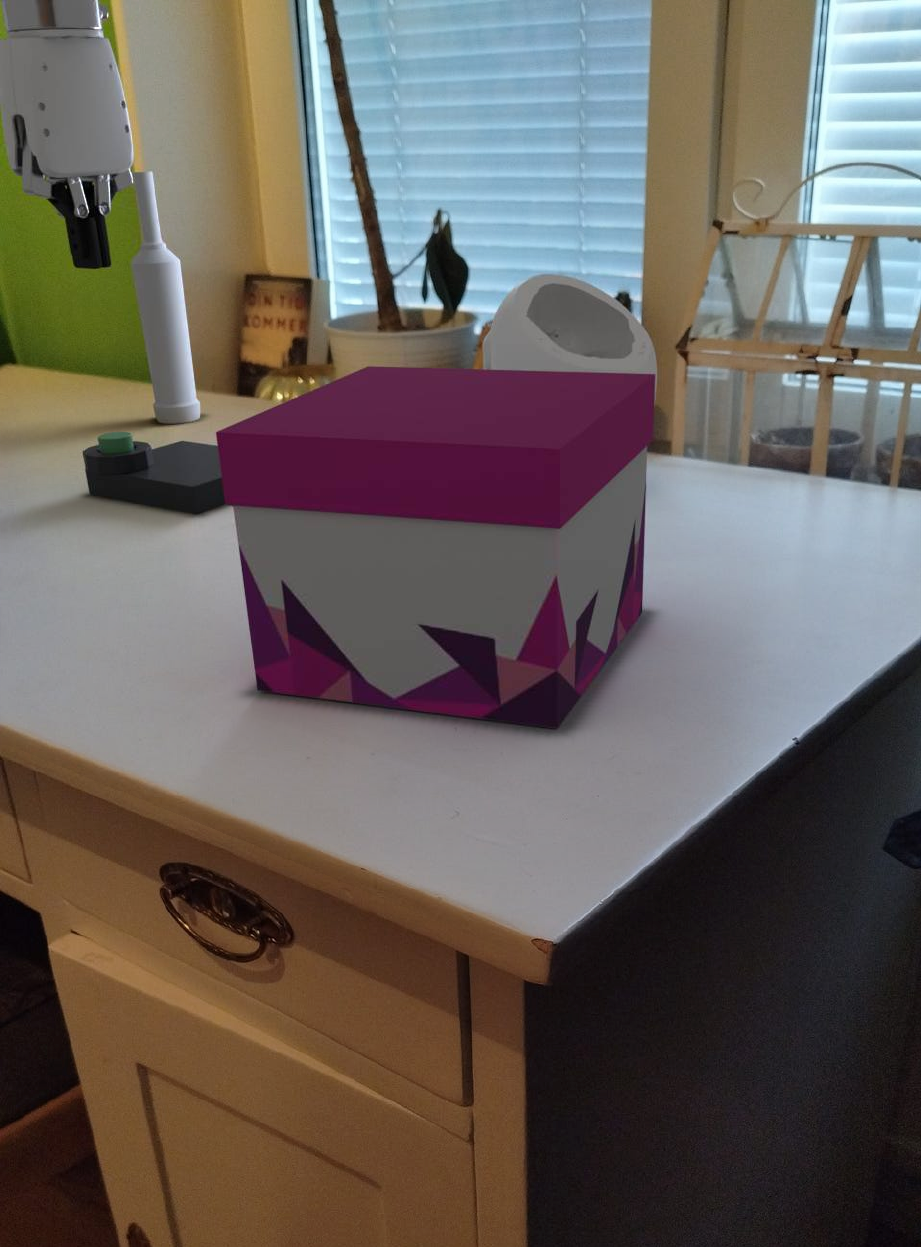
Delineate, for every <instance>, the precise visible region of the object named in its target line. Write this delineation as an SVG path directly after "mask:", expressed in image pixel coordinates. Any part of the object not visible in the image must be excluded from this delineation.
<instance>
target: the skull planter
mask: <svg viewBox="0 0 921 1247" xmlns="http://www.w3.org/2000/svg"><path fill="white" fill-rule="evenodd" d="M556 335H557V337H556ZM569 343H571V344H569ZM568 344H569V345H568ZM481 350H482V366H483V368H482V369H485V370H522V371H558V372H595V373H632V374H655V400H654V406H655V405H656V397H657V388H658V362H657V355H656V350H655V346H654V344H653V341H652V339H651V336H650V334H649V333H648V331H647V330H646V329H645V328H644V326H643V325H642V323H641V322H640V321H639V320H638V319H637V318H636V317H635V315H634V314H633V313H631V312H630V310H629V309H628V308H627V307H626V306H625V305H623V303H621V302H620V301H619V300H618V299H616V298H614V297H613V296H611V295H610V294H608V293H607V292H605V291H603V290H601V289H600V288H599V287H596V286H594V285H593V284H592V283H591V284H590V283H588V282H586V281H583V280H581V279H579V278H575V277H572V276H566V275H561V274H555V273H554V274H553V273H541V274H537V275H533V276H531V277H529V278H527V279H525V280H523V281H522V282H520V283H519V284H517V285H516V286H514V287H513V288H512V289H511V290H510V291H509V292H508V293H507V295H506V296H505V297H504V298H503V300H502V301H501V303H500V305H499V306H498V307H497V310H496V311H495V313H494V316H493V319H492V322H491V327H490V328H489V332H488V333H487V334H486V335H485V337H484V339H483V341H482V347H481Z"/></svg>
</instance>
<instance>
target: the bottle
mask: <svg viewBox="0 0 921 1247" xmlns="http://www.w3.org/2000/svg"><path fill="white" fill-rule="evenodd" d="M131 175H132V178H133V187H134V193H135V196H136V204H137V209H138V210H137V211H138V216H139V218H138V219H139V223H140V229H141V231H140V232H141V237H142V238H141V239H142V242H141V244H139V247H140V250H139V251H138V252H137V253H136V255H135V256H134V257H133V259H132V260H131V262H130V266H131V271H132V277H133V283H134V290H135V294H136V295H135V296H136V300H137V301H136V302H137V306H138V311H139V317H140V318H139V319H140V323H141V328H142V335H143V340H144V345H145V352H146V357H147V364H148V368H149V374H150V379H151V386H152V391H153V392H152V393H153V397H154V402H153V404H152V406H153V412H154V416H155V418H156V420H157V422H158V423H161V424H169V425H171V424H185V423H189V422H194V421H198V420H199V419H200V417H201V403H200V400H199V399H198V398H197V391H196V382H195V375H194V374H195V373H194V365H193V358H192V350H191V349H192V348H191V340H190V333H189V323H188V317H187V307H186V300H185V292H184V282H183V274H182V265H181V259H180V258H178V257H177V256H176V255H175V254H174V253H173V252H172V251H171V250H170V249H168V247H167V243H166V242H164V241H163V239H162V233H161V226H160V221H159V220H160V219H159V213H158V205H157V198H156V189H155V188H156V187H155V181H154V173H153V171H148V170H147V171H132V172H131Z"/></svg>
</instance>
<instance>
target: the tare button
mask: <svg viewBox="0 0 921 1247" xmlns="http://www.w3.org/2000/svg"><path fill="white" fill-rule="evenodd" d="M133 441H134V440H133V435H132V433H131V432H129V431H111V432H106V433H102V434H99V435H98V436H97V443H98V445H99V449H100V453H103V454H112V453H122V452H128V451H131V450H134V445H133Z"/></svg>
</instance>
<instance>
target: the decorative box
mask: <svg viewBox="0 0 921 1247" xmlns="http://www.w3.org/2000/svg"><path fill="white" fill-rule="evenodd" d="M654 400H655V401H656V398H655V374H632V373H595V372H558V371H522V370H485V369H483V368H482V369H480V368H479V369H477V368H443V367H440V368H439V367H409V366H408V367H407V366H406V367H405V366H371V365H369V366H365V367H362V368H361V369H359V370H356V371H354V372H351V373H349V374H346V375H344V376H342V377H340V378H338V379H335V380H332V381H331V382H329V383H326V384H324V385H321V386H319V387H317V388H314V389H313V390H310V391H307V392H305V393H303V394H301V395H297V396H296V397H294V398H291V399H289V400H287V401H285V402H282V403H280V404H278V405H275V406H273V407H271V408H269V409H266V410H264V411H262V412H259V413H257V414H255V415H252V416H249V417H247V418H245V419H242V420H241V421H238V422H236V423H233V424H232V425H229V426H227V427H224V428H222V429H220V430H217V431H215V437H216V444H217V445H216V446H218V452H219V460H220V467H221V474H222V482H223V489H224V497H225V506H231V507H233V515H234V523H235V530H236V537H237V544H238V553H239V560H240V568H241V576H242V583H243V590H244V598H245V605H246V613H247V621H248V622H247V623H248V629H249V636H250V644H251V651H252V658H253V666H254V674H255V682H256V683H255V684H256V688H257V691H259V692H267V693H273V694H274V693H275V694H282V695H290V696H298V697H305V698H314V699H320V700H321V699H322V700H331V701H339V702H345V703H354V704H362V705H369V706H377V707H385V708H393V709H400V710H409V711H416V712H426V713H432V714H433V713H434V714H440V715H449V716H455V717H465V718H471V719H479V720H480V719H481V720H489V721H496V722H503V723H511V724H520V725H528V726H535V727H544V728H550V729H559V727H560V725H561V724H562V723H563V721H564V720H565V719H566V717H567V716H568V715H569V713H570V712H571V710H572V709H573V707H574V706H575V705H576V703H577V702H578V701H579V699H580V698H581V697H582V696H583V694H584V692H585V691H586V690H587V689H588V687H589V686H590V685H591V684H592V682H593V680H594V679H595V678H596V676H598V674H599V672H600V671H601V669H602V668H603V667H604V666H605V664H606V662H607V661H608V660H609V658H610V657H611V656H612V654H613V653H614V652H615V650H616V649H617V647H618V646H619V645H620V644H621V642H622V641H623V639H624V638H625V637H626V635H627V634H628V633H629V631H630V630H631V629H632V627H633V626H634V624H635V623H636V622H637V621H638V619H639V617H640V616H641V615H642V613H643V599H644V570H645V569H644V568H645V567H644V565H645V535H646V534H645V533H646V531H645V529H646V500H647V499H646V498H647V469H648V467H647V466H648V462H647V461H648V446H649V445H650V444H651V443H652V442H653V441H654V428H655V405H654Z"/></svg>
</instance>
